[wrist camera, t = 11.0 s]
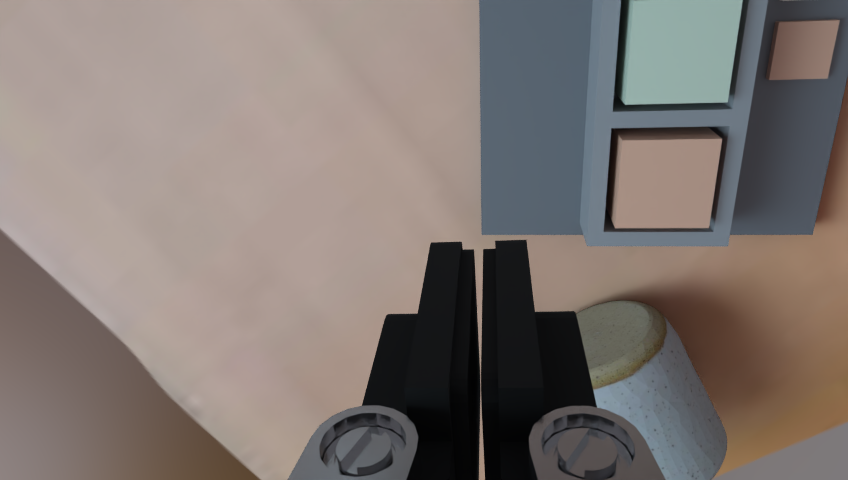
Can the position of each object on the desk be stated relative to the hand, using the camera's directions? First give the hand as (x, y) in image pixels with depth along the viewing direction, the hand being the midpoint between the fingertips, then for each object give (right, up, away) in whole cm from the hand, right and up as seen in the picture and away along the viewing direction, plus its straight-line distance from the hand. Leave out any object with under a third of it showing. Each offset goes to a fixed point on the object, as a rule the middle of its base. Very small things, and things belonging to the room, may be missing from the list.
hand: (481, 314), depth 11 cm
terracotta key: (+10, +5, +18) cm, 21 cm away
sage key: (+9, +10, +16) cm, 21 cm away
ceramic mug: (+9, -6, +26) cm, 28 cm away
